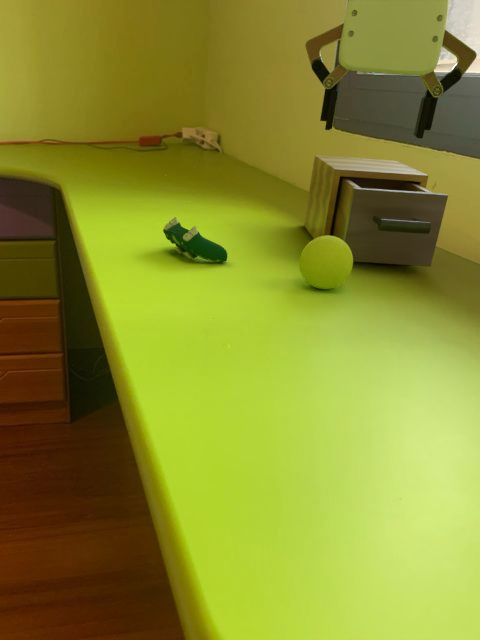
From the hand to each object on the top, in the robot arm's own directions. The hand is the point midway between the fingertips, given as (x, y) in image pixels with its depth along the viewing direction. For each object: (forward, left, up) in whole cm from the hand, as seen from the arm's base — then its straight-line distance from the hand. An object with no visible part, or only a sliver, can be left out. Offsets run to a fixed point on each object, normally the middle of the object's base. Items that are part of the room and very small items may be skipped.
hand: (372, 133), depth 76 cm
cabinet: (-7, -25, -17) cm, 30 cm away
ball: (+3, +3, -14) cm, 15 cm away
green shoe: (+18, -8, -17) cm, 26 cm away
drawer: (-7, -11, -16) cm, 21 cm away
